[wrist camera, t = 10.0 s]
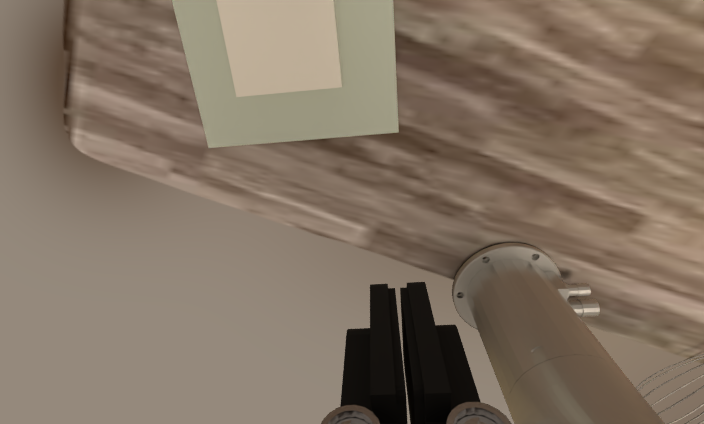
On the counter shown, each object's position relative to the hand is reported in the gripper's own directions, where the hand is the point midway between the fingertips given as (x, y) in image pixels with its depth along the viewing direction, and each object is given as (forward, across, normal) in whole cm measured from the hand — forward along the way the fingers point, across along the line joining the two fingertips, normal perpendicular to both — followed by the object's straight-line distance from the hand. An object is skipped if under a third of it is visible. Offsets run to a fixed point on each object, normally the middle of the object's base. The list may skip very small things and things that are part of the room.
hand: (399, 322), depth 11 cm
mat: (+29, +8, -10) cm, 32 cm away
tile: (+27, +3, -10) cm, 29 cm away
